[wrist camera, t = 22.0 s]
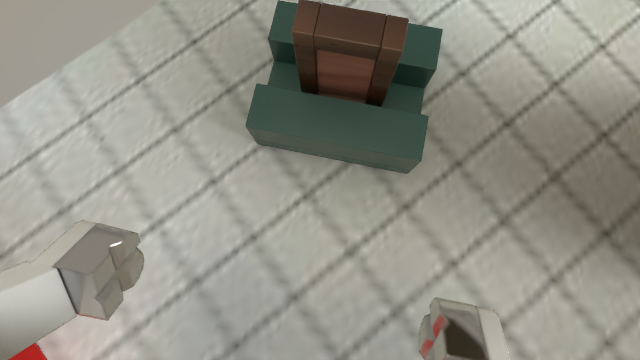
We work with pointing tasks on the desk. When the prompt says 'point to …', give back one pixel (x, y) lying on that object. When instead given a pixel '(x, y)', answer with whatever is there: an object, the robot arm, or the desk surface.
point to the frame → (347, 51)
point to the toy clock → (30, 354)
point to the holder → (345, 106)
